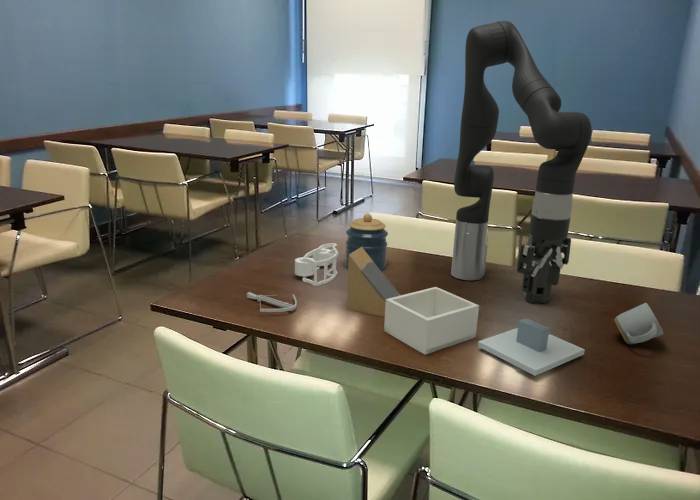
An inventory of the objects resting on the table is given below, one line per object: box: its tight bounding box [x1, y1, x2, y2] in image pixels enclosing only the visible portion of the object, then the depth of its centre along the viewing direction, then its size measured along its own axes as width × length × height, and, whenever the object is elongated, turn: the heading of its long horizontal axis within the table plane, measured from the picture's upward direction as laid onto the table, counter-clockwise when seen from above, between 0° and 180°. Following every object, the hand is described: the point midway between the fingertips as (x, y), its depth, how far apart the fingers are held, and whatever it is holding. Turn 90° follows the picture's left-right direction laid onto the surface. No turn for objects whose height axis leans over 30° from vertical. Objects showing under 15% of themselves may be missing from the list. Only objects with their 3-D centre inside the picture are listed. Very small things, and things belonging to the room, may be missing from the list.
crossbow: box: [246, 291, 298, 313], centre depth 142 cm, size 16×13×2 cm
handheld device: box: [520, 234, 553, 304], centre depth 148 cm, size 6×15×25 cm, turn 176°
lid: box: [477, 318, 586, 377], centre depth 118 cm, size 17×15×7 cm
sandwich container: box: [346, 247, 402, 318], centre depth 138 cm, size 9×15×15 cm, turn 67°
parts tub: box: [383, 286, 480, 356], centre depth 126 cm, size 16×14×8 cm
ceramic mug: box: [613, 302, 664, 345], centre depth 123 cm, size 11×8×8 cm
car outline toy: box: [294, 242, 339, 287], centre depth 164 cm, size 20×11×7 cm, turn 155°
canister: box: [344, 213, 389, 272], centre depth 169 cm, size 13×13×18 cm
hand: (540, 288), depth 115 cm, fingers open, 8 cm apart
